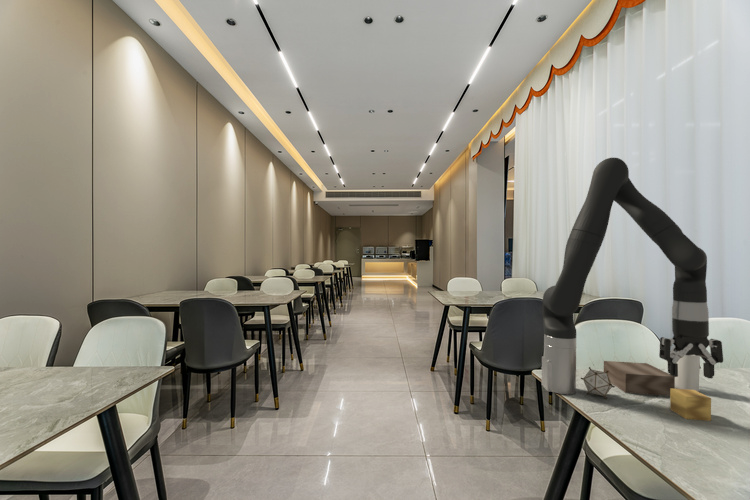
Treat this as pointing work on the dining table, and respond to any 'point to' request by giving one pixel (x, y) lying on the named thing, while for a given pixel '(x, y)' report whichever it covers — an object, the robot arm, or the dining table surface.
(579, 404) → the dining table surface
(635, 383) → the riser
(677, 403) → the ochre block
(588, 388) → the game die
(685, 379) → the mug
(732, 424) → the dining table surface
